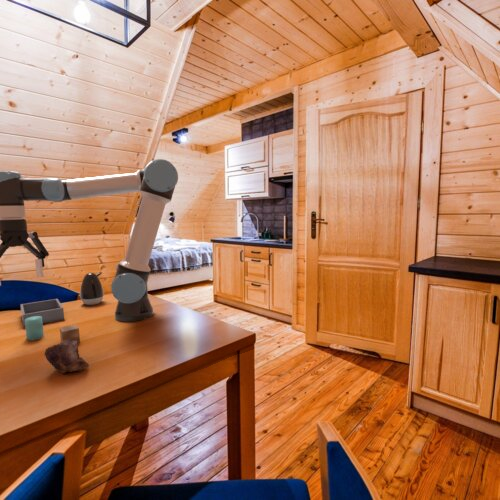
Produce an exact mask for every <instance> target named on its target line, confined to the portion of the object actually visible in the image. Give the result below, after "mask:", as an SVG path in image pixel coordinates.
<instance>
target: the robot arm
mask: <svg viewBox="0 0 500 500" xmlns="http://www.w3.org/2000/svg"><path fill="white" fill-rule="evenodd" d="M178 181H179V173H178V170H177V169H176V167H175V165H174V164H173V163H171V162H170V161H168V160H166V159H162V158H158V159H157V158H156V159H154V160H151V161H150V162H148V164H146V166H145V168H143V169H138V170H137V171H136V172H131V173H122V174H121V173H120V174H111V175H103V176H94V177H91V176H90V177H84V178H82V177H81V178H73V179H63V180H61V179H60V178H56V177H55V178H54V177H38V178H37V177H34V178H33V177H31V178H30V177H28V178H27V177H22V174H21V173H20V172H18V171H8V170H0V240H1V243H0V259H1V258H2V256H3V255H4V254H5V252H7V250H8V249H9V248H15V247H24V248H25V249H26V250H27V251H29V252H30V253H31V254H32V255H34V256H35V257H36V258H35V259H34V262H35V263H34V264H35V265H34V266H35V271H36V277H38V278H43V277H44V268H45V259H46V257H49V256H50V253H49V251H48V250H47V249H46V247H45V246H44V244H43V242H42V241H41V240H40V238H39V236H38V232H37V231H30V232H28V225H27V220H26V215H27V214H26V207H25V202H28V201H31V202H32V201H38V202H40V201H41V202H42V201H43V202H53V203H60V202H64V201H65V202H66V201H71V200H79V199H88V198H96V197H105V196H113V195H114V196H115V195H124V194H130V193H133V194H134V193H140V195H141V200H140V204H139V209H138V211H137V214H136V215H137V216H136V218H135V222H134V226H133V228H132V232H131V236H130V240H129V243H128V247H127V250H126V253H125V256H124V258H123V259H122V260H121V261H119V262H118V263H117V264H116V268H115V269H116V271H115V276H114V278H113V280H112V281H111V286H110V289H111V294H112V296H113V297H114V298H115V299H116V300H117V304H116V308H115V311H114V319H115V320H116V321H119V322H125V323H126V322H128V323H129V322H139V321H142V320H145V319H149V318H150V317H152V316H153V315H154V308H153V306H152V304H151V303H152V302H151V300H150V299H149V294H148V293H149V292H148V281H149V277H150V273H151V267H150V266H149V263H150V259H151V257H152V252H153V249H154V246H155V242H156V238H157V235H158V233H159V229H160V225H161V221H162V217H163V213H164V211H165V208H166V205H167V204H168V203H170V202H171V201H172V198H173V194H174V193H175V192H174V191H175V189H176V188H175V187H176V185H177V184H178ZM28 238H29V239H30V240H31V241H32V243H33V244H34V245H35V246H33V245H32V243H31V242H30V241H29V240H28ZM1 286H2V282H1V280H0V287H1Z"/></svg>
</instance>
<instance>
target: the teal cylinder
mask: <svg viewBox="0 0 500 500" xmlns="http://www.w3.org/2000/svg"><path fill="white" fill-rule="evenodd" d="M24 328H25V334H26V335H25V336H26V340H27V341H35V340H40V339H42V338H43V337H45V335H44V325H43V323H42V317H41V316H34V317H29V318H26V319H25V327H24Z"/></svg>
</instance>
